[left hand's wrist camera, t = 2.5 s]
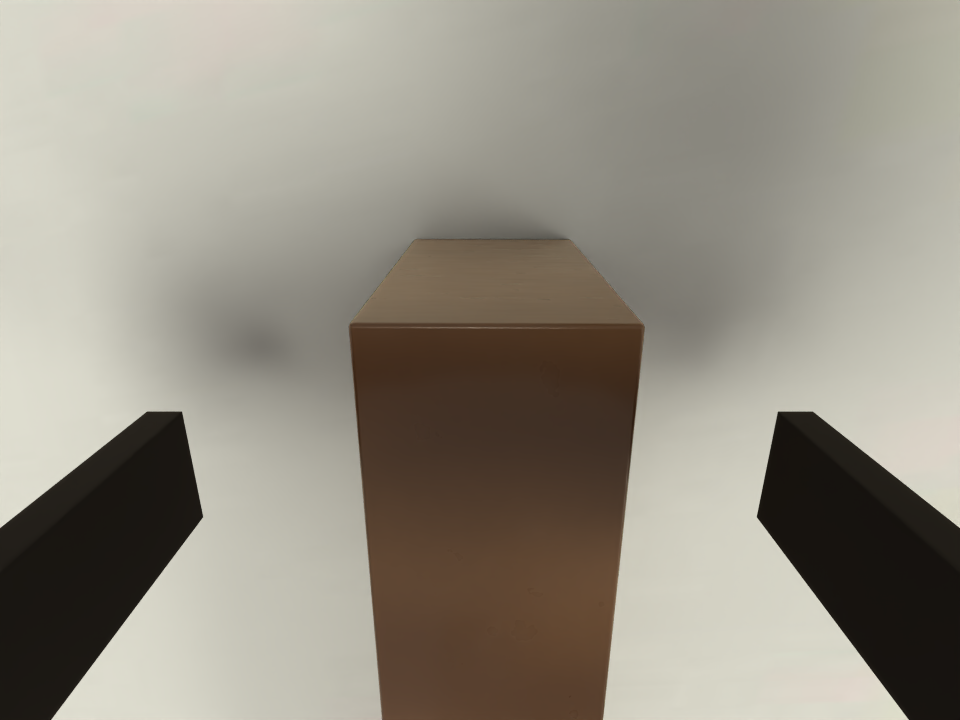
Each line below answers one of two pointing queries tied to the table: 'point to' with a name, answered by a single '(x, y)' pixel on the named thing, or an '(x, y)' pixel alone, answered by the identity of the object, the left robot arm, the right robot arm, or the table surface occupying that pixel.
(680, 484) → the table surface
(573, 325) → the bar
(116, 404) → the table surface
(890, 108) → the table surface
